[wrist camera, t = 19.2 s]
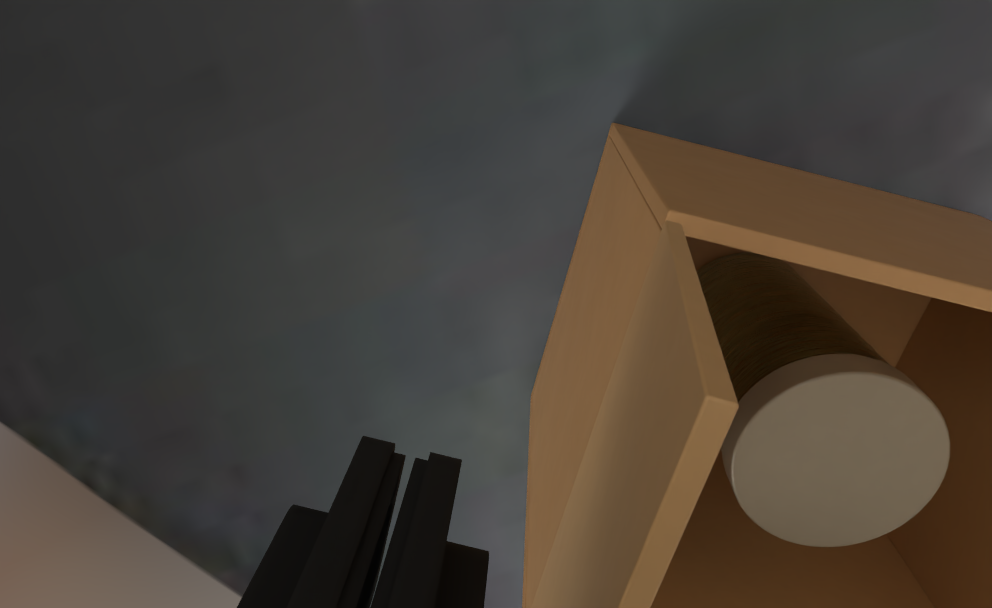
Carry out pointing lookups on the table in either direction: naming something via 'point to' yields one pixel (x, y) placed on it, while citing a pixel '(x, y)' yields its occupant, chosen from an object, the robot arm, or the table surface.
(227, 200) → the table surface
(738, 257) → the tea tin
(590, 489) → the flap
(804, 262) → the carton
